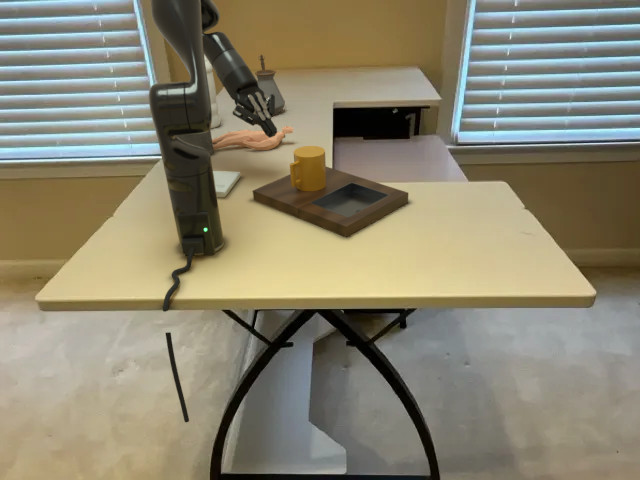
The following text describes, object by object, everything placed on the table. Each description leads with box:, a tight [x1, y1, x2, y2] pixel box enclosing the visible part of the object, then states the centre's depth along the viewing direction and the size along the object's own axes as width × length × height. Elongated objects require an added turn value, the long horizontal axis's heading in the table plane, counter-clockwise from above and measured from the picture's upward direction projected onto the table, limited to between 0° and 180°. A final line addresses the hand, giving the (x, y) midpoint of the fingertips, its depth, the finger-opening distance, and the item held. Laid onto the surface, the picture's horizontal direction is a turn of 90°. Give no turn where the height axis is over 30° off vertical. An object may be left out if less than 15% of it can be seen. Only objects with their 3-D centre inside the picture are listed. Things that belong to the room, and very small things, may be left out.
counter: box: [252, 166, 409, 238], centre depth 142 cm, size 30×22×2 cm
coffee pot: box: [254, 54, 286, 116], centre depth 200 cm, size 21×12×15 cm, turn 8°
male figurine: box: [212, 125, 294, 151], centre depth 175 cm, size 11×5×25 cm
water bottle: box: [204, 55, 221, 130], centre depth 184 cm, size 7×7×25 cm
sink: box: [310, 182, 390, 218], centre depth 139 cm, size 12×15×2 cm
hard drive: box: [213, 170, 241, 198], centre depth 152 cm, size 2×8×12 cm
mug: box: [289, 145, 327, 191], centre depth 142 cm, size 10×7×8 cm
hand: (273, 135), depth 146 cm, fingers closed
